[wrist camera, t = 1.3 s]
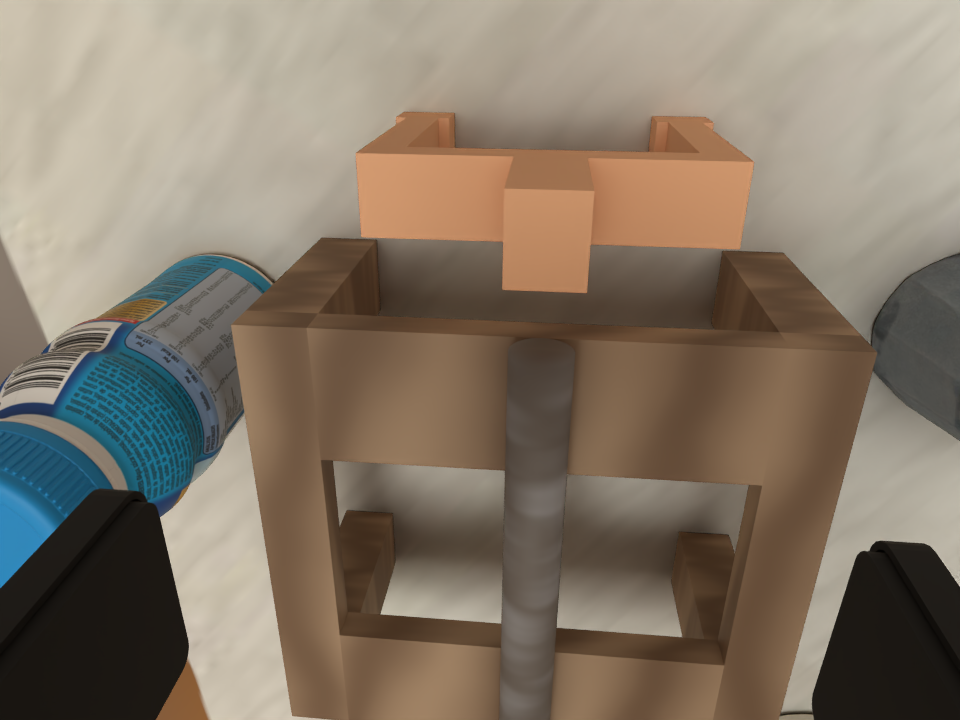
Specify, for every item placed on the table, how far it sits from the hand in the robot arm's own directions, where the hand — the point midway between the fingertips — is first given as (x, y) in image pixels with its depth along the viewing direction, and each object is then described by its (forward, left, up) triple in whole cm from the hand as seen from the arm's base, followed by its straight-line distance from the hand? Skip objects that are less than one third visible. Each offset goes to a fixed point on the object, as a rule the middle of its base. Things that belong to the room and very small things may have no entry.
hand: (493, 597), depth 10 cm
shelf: (-1, +15, -29) cm, 33 cm away
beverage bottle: (+17, +9, -30) cm, 35 cm away
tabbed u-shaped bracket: (-1, -1, -29) cm, 29 cm away
